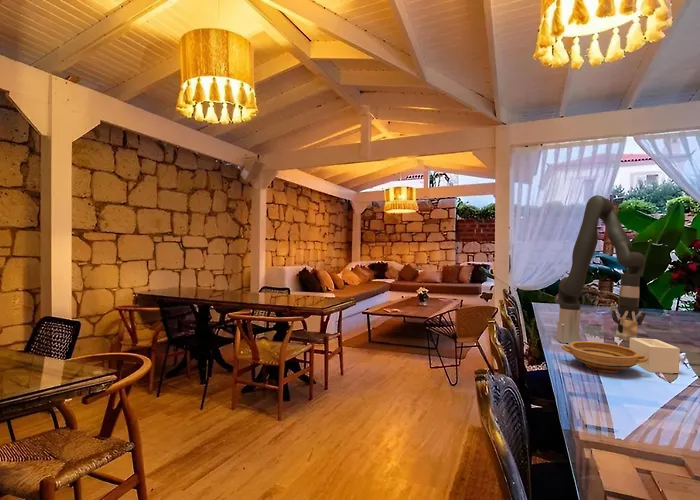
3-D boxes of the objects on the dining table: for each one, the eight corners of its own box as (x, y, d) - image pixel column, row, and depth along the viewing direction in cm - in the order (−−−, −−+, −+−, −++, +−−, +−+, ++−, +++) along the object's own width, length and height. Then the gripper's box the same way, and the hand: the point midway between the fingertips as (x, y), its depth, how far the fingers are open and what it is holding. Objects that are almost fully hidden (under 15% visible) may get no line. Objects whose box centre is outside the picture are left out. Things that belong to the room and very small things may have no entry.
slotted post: (648, 371, 156) (649, 346, 156) (628, 360, 171) (629, 337, 171) (678, 373, 154) (679, 348, 154) (655, 362, 169) (656, 339, 169)
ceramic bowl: (643, 366, 162) (644, 347, 162) (652, 384, 142) (653, 362, 141) (562, 354, 178) (562, 337, 177) (559, 369, 157) (559, 349, 156)
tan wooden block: (625, 341, 175) (627, 321, 175) (616, 336, 185) (617, 317, 185) (636, 342, 175) (637, 322, 174) (625, 337, 184) (626, 317, 184)
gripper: (615, 295, 177) (612, 333, 178) (651, 298, 174) (648, 336, 175) (608, 293, 185) (605, 329, 185) (642, 296, 181) (639, 333, 182)
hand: (626, 333), depth 180 cm, fingers closed on tan wooden block, 4 cm apart
